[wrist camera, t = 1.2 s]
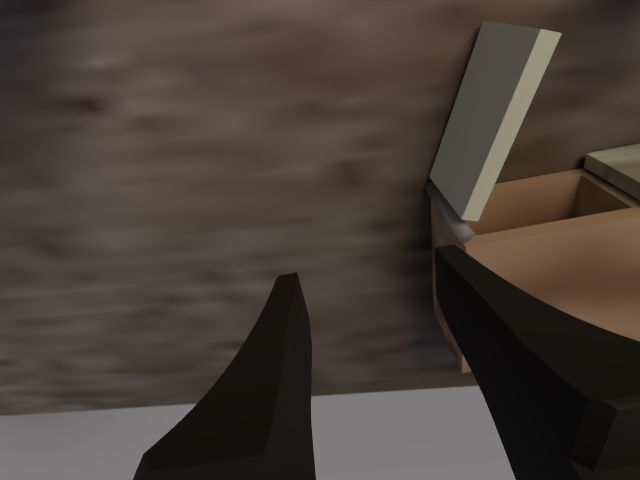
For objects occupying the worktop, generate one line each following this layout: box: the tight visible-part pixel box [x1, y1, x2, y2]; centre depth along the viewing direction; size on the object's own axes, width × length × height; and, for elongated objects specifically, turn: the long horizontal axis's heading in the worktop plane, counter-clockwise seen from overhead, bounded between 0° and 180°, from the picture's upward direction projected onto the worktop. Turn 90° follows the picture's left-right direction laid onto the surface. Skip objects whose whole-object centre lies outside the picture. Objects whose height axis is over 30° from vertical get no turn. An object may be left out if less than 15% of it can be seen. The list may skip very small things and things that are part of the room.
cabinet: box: [431, 144, 640, 373], centre depth 22 cm, size 10×15×5 cm, turn 100°
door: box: [425, 21, 562, 242], centre depth 18 cm, size 1×9×5 cm, turn 170°
